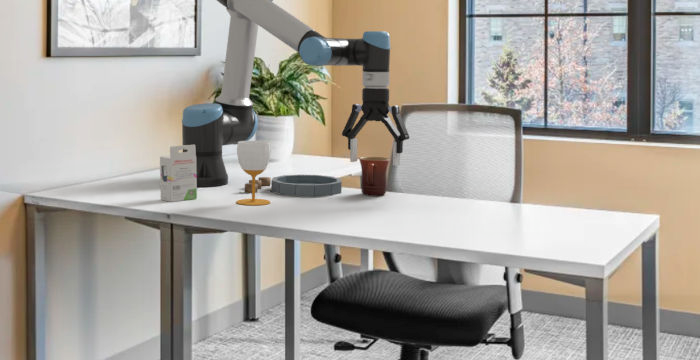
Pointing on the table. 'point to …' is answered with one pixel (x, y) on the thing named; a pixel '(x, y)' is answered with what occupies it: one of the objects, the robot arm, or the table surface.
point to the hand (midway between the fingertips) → (374, 163)
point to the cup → (253, 165)
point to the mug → (374, 175)
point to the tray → (306, 185)
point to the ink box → (179, 174)
